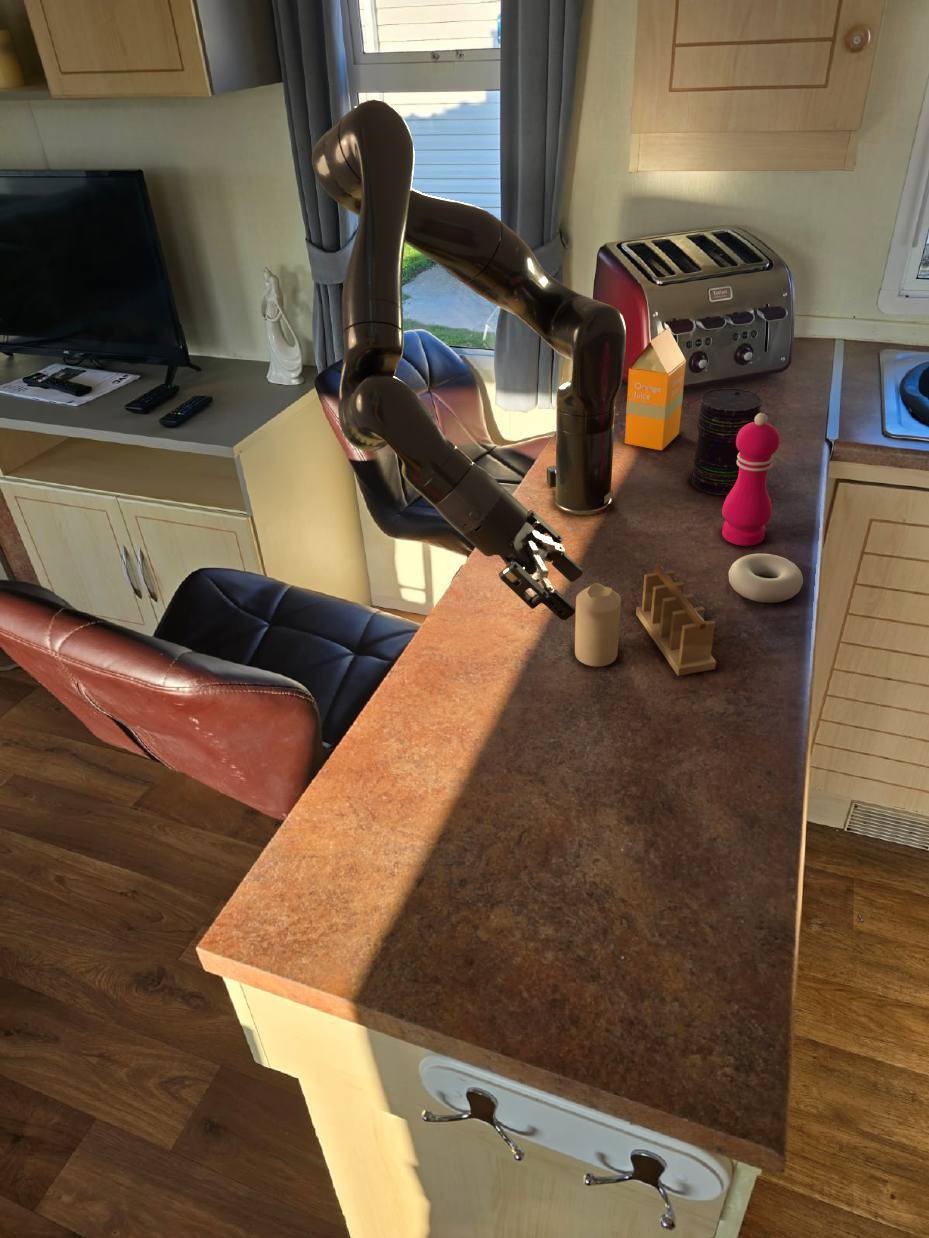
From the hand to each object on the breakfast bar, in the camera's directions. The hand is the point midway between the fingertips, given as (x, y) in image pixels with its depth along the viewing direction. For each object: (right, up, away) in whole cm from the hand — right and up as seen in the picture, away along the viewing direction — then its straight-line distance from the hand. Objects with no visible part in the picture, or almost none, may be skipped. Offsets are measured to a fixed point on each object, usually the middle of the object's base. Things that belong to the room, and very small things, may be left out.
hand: (574, 595), depth 106 cm
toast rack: (+14, -6, +6) cm, 16 cm away
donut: (+29, +1, +15) cm, 32 cm away
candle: (+3, -8, +5) cm, 9 cm away
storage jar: (+31, +21, +42) cm, 56 cm away
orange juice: (+22, +32, +58) cm, 70 cm away
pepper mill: (+30, +10, +27) cm, 41 cm away
